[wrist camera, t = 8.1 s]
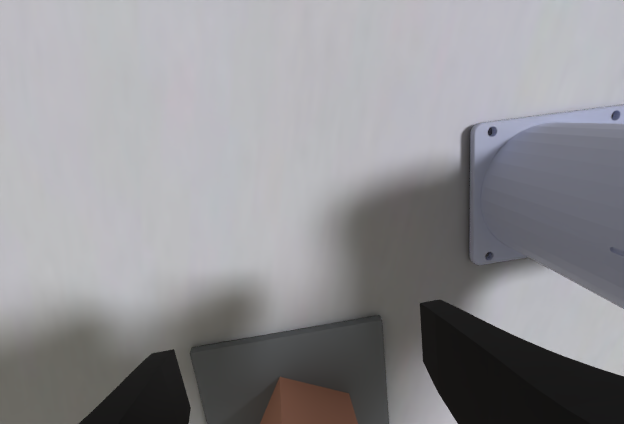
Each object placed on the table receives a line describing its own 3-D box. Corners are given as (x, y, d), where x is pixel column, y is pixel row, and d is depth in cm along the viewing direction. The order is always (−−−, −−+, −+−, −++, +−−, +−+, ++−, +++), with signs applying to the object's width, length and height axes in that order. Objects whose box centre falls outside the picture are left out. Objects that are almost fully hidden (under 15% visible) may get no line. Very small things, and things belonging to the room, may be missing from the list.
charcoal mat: (379, 315, 21) (381, 320, 21) (389, 456, 24) (391, 463, 24) (191, 347, 20) (189, 353, 20) (226, 490, 23) (225, 498, 23)
